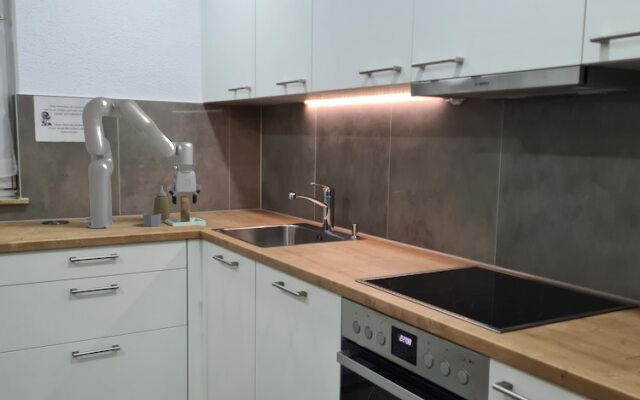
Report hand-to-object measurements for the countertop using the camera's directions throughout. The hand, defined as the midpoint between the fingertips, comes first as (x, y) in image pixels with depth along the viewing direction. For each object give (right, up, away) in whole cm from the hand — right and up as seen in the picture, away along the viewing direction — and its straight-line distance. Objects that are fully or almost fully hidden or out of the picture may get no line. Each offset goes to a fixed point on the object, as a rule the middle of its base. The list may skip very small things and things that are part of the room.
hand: (184, 203), depth 279 cm
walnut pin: (0, -9, +1) cm, 10 cm away
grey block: (-13, -11, -7) cm, 19 cm away
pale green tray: (0, -10, +1) cm, 11 cm away
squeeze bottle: (-15, -9, +14) cm, 22 cm away
